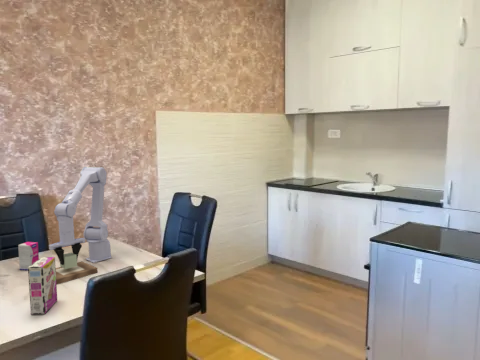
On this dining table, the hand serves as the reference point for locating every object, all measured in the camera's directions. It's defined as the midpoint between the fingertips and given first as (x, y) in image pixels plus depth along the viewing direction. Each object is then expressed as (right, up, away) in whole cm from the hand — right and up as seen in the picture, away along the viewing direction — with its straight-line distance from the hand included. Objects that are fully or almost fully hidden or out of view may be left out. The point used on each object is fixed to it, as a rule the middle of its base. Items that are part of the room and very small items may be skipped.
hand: (68, 262), depth 166 cm
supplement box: (-22, -5, +9) cm, 24 cm away
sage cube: (0, -2, 0) cm, 2 cm away
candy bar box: (+5, -9, -31) cm, 32 cm away
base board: (0, -5, +1) cm, 5 cm away
